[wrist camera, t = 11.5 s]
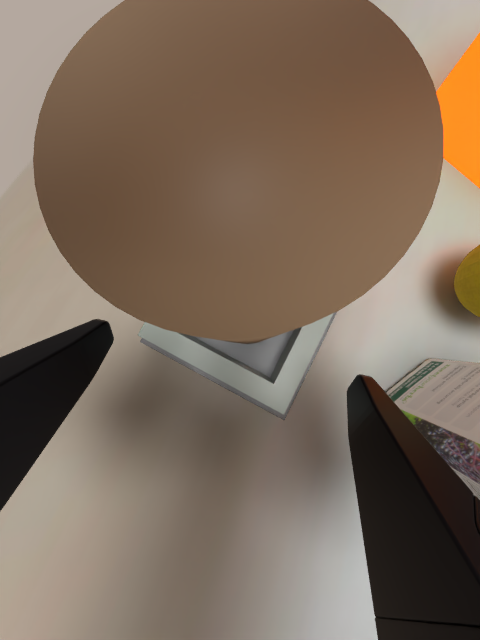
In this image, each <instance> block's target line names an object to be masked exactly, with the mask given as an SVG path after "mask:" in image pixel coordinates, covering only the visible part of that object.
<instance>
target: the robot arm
mask: <svg viewBox="0 0 480 640" xmlns="http://www.w3.org/2000/svg"><path fill="white" fill-rule="evenodd" d="M113 340H114V337H113V334H112V330H111V327H110V324H109V323H108V322H107V321H104V320H100V319H94V320H92V321H89V322H87V323H84V324H82V325H79V326H77V327H74V328H72V329H69V330H67V331H65V332H62V333H60V334H57V335H55V336H52V337H50V338H47V339H45V340H42V341H40V342H37V343H35V344H32V345H30V346H27V347H25V348H22V349H20V350H17V351H15V352H12V353H10V354H8V355H5V356H3V357H0V510H2V508H3V507H4V506H5V504H6V503H7V501H8V500H9V498H10V497H11V496H12V494H13V493H14V491H15V490H16V488H17V487H18V486H19V484H20V483H21V481H22V480H23V478H24V477H25V475H26V474H27V473H28V471H29V470H30V468H31V467H32V465H33V464H34V463H35V461H36V460H37V458H38V457H39V455H40V454H41V453H42V451H43V450H44V448H45V447H46V445H47V444H48V443H49V441H50V440H51V438H52V437H53V435H54V434H55V432H56V431H57V430H58V428H59V427H60V425H61V424H62V422H63V421H64V420H65V418H66V417H67V415H68V414H69V412H70V411H71V410H72V408H73V407H74V405H75V404H76V402H77V401H78V400H79V398H80V397H81V395H82V394H83V392H84V391H85V389H86V388H87V387H88V385H89V384H90V382H91V381H92V379H93V378H94V376H95V374H96V373H97V371H98V369H99V367H100V365H101V363H102V362H103V360H104V358H105V356H106V354H107V353H108V351H109V349H110V347H111V345H112V343H113ZM347 413H348V437H349V445H350V452H351V459H352V465H353V472H354V479H355V486H356V492H357V499H358V506H359V513H360V519H361V526H362V533H363V540H364V546H365V553H366V560H367V566H368V573H369V580H370V587H371V593H372V600H373V607H374V614H375V617H376V618H375V622H376V628H377V635H378V640H480V500H479V499H478V497H477V496H475V495H473V492H472V491H471V490H470V488H469V487H468V486H467V485H466V484H465V483H464V482H463V480H462V479H461V478H460V477H459V476H458V475H457V474H456V472H455V471H454V470H453V469H452V468H451V467H450V466H449V464H448V463H447V462H446V461H445V460H444V459H443V458H442V456H441V455H440V454H439V453H438V452H437V451H436V450H435V448H434V447H433V446H432V445H431V444H430V443H429V442H428V440H427V439H426V438H425V437H424V436H423V435H422V434H421V432H420V431H419V430H418V429H417V428H416V427H415V426H414V424H413V423H412V422H411V421H410V420H409V419H408V418H407V416H406V415H405V414H404V413H403V412H402V411H401V410H400V408H399V407H398V406H397V405H396V404H395V403H394V402H393V400H392V399H391V398H390V397H389V396H388V395H387V394H386V392H385V391H384V390H383V389H382V388H381V387H380V386H379V384H378V383H377V382H376V381H375V380H374V379H373V378H372V377H370V376H366V375H361V374H359V375H357V376H356V378H355V379H354V380H353V382H352V383H351V385H350V386H349V388H348V390H347Z"/></svg>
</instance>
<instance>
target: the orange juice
mask: <svg viewBox="0 0 480 640" xmlns="http://www.w3.org/2000/svg"><path fill="white" fill-rule="evenodd" d="M436 94H437V97H438V100H439V104H440V109H441V116H442V123H443V129H444V156H443V158H444V159H445V160H447V161H448V162H449V163H450V164H451V165H453V166H454V167H455V168H456V169H457V170H459V171H460V172H461V173H462V174H463V175H465V176H466V177H467V178H468V179H469V180H471V181H472V182H473V183H474V184H475V185H476V186H478V187H479V188H480V33H479V34H478V36H477V37H476V38H475V40H474V41H473V42H472V44H471V45H470V46H469V48H468V49H467V51H466V52H465V53H464V55H463V56H462V57H461V59H460V60H459V62H458V63H457V64H456V66H455V67H454V68H453V70H452V71H451V73H450V74H449V75H448V77H447V78H446V79H445V81H444V82H443V83H442V85H441V86H440V88H439V89H438V90H437V92H436Z"/></svg>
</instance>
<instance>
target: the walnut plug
mask: <svg viewBox="0 0 480 640" xmlns="http://www.w3.org/2000/svg"><path fill="white" fill-rule="evenodd" d="M443 156H444V129H443V123H442V116H441V109H440V104H439V100H438V97H437V94H436V91H435V87H434V84H433V81H432V79H431V77H430V75H429V72H428V70H427V68H426V66H425V64H424V62H423V60H422V58H421V57H420V55H419V53H418V52H417V50H416V49H415V47H414V46H413V44H412V43H411V41H410V40H409V38H408V37H407V36H406V35H405V34H404V33H403V32H402V31H401V29H400V28H399V27H398V26H397V25H396V24H395V23H394V21H393V20H392V19H390V18H389V17H388V16H387V15H386V14H385V13H383V12H382V11H381V10H380V9H379V8H378V7H377V6H375V5H374V4H373V3H371V2H370V1H368V0H125V1H123V2H122V3H120V4H119V5H118V6H116V7H115V8H114V9H112V10H111V11H110V12H108V13H107V14H106V15H104V16H103V17H102V18H101V19H100V20H99V21H98V22H97V23H96V24H95V25H93V26H92V27H91V28H90V29H89V30H88V31H87V32H86V33H85V34H84V35H83V37H82V38H81V39H80V40H79V41H78V43H77V44H76V45H75V46H74V47H73V49H72V50H71V51H70V53H69V54H68V56H67V57H66V59H65V60H64V62H63V63H62V65H61V66H60V68H59V69H58V71H57V73H56V75H55V77H54V79H53V81H52V83H51V85H50V87H49V89H48V91H47V94H46V97H45V100H44V103H43V105H42V108H41V111H40V114H39V119H38V124H37V129H36V134H35V142H34V157H33V164H34V178H35V187H36V191H37V196H38V201H39V205H40V209H41V212H42V214H43V217H44V220H45V222H46V225H47V228H48V230H49V232H50V234H51V236H52V238H53V240H54V241H55V243H56V245H57V247H58V249H59V251H60V252H61V254H62V255H63V256H64V258H65V259H66V260H67V262H68V263H69V264H70V266H71V267H72V268H73V270H74V271H75V272H76V273H77V274H78V275H79V276H80V277H81V278H82V279H83V280H84V281H85V282H86V283H87V284H88V285H89V286H90V287H91V288H92V289H93V290H94V291H95V292H96V293H98V294H99V295H100V296H102V297H103V298H104V299H106V300H107V301H108V302H110V303H111V304H113V305H114V306H115V307H117V308H119V309H121V310H122V311H124V312H126V313H128V314H130V315H132V316H133V317H135V318H137V319H139V320H141V321H144V322H147V323H149V324H152V325H155V326H157V327H160V328H162V329H165V330H169V331H173V332H178V333H182V334H186V335H191V336H196V337H202V338H209V339H215V340H222V341H229V342H235V343H242V344H252V343H257V342H260V341H263V340H266V339H269V338H272V337H275V336H277V335H280V334H283V333H286V332H289V331H291V330H294V329H297V328H300V327H303V326H306V325H308V324H311V323H313V322H315V321H318V320H320V319H322V318H324V317H326V316H328V315H330V314H333V313H335V312H337V311H339V310H340V309H342V308H343V307H345V306H347V305H348V304H350V303H351V302H353V301H354V300H356V299H358V298H359V297H361V296H362V295H364V294H365V293H366V292H367V291H368V290H369V289H371V288H372V287H373V286H374V285H375V284H377V283H378V282H379V281H380V280H381V279H382V278H384V277H385V276H386V275H387V274H388V272H389V271H390V270H391V269H392V268H393V267H394V266H395V265H396V264H397V262H398V261H399V260H400V259H401V258H402V257H403V256H404V254H405V253H406V251H407V250H408V249H409V247H410V246H411V244H412V243H413V241H414V240H415V238H416V237H417V235H418V234H419V232H420V230H421V228H422V226H423V224H424V222H425V220H426V218H427V216H428V213H429V211H430V209H431V207H432V204H433V201H434V198H435V194H436V191H437V188H438V185H439V182H440V175H441V169H442V162H443Z"/></svg>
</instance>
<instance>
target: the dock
mask: <svg viewBox="0 0 480 640" xmlns="http://www.w3.org/2000/svg"><path fill="white" fill-rule="evenodd" d="M336 313H337V312H335V313H333V314H330V315H328V316H326V317H324V318H322V319H320V320H318V321H315V322H313V323H311V324H308V325H306V326H303V327H300V328H297V329H294V330H291V331H289V332H286V333H283V334H280V335H277V336H275V337H272V338H269V339H266V340H263V341H260V342H257V343H252V344H242V343H235V342H229V341H222V340H215V339H209V338H202V337H196V336H191V335H186V334H182V333H178V332H173V331H169V330H165V329H162V328H160V327H157V326H155V325H152V324H149V323H147V322H145V323H144V325H143V326H142V328H141V330H140V332H139V334H138V336H140V337H142V339H141V341H140V342H141V343H143V344H145V345H147V346H149V347H151V348H152V349H154V350H156V351H158V352H160V353H162V354H163V355H165V356H167V357H169V358H171V359H173V360H174V361H176V362H178V363H180V364H182V365H184V366H185V367H187V368H189V369H191V370H193V371H195V372H196V373H198V374H200V375H202V376H204V377H206V378H207V379H209V380H211V381H213V382H215V383H217V384H218V385H220V386H222V387H224V388H226V389H228V390H229V391H231V392H233V393H235V394H237V395H239V396H240V397H242V398H244V399H246V400H248V401H250V402H251V403H253V404H255V405H257V406H259V407H261V408H262V409H264V410H266V411H268V412H270V413H272V414H273V415H275V416H277V417H279V418H281V419H283V420H285V418H286V416H287V414H288V412H289V410H290V408H291V405H292V403H293V401H294V399H295V397H296V395H297V393H298V391H299V389H300V387H301V385H302V383H303V381H304V379H305V377H306V375H307V373H308V371H309V368H310V366H311V364H312V362H313V360H314V358H315V356H316V354H317V352H318V350H319V348H320V346H321V344H322V342H323V340H324V338H325V336H326V334H327V332H328V329H329V327H330V325H331V323H332V321H333V319H334V317H335V315H336Z"/></svg>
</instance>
